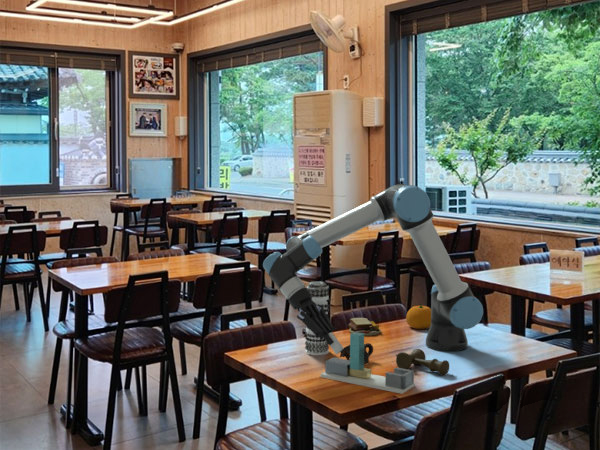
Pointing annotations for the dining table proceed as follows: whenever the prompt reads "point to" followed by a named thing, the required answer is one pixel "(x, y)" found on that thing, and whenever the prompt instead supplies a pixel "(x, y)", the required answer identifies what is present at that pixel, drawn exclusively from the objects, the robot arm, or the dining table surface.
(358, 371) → the two-tone teal block
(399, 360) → the kendama
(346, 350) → the brown grey jagged ring
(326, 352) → the decorative candle
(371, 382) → the base board
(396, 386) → the socket
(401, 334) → the dining table surface
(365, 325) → the toy sandwich meal
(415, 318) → the fruit
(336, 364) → the sleeve
